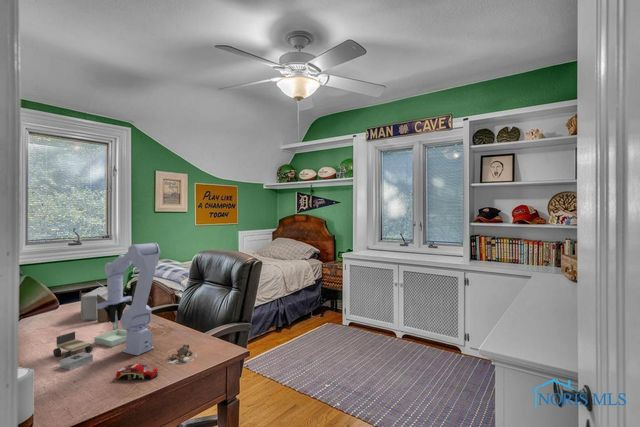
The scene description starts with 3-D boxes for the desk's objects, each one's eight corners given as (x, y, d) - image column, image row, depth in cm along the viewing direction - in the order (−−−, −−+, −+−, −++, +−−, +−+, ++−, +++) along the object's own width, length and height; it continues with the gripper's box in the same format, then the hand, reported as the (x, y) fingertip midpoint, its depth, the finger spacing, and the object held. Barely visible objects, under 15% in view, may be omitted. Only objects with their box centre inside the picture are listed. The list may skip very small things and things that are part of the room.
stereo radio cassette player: (98, 310, 195) (98, 274, 194) (114, 309, 196) (114, 274, 196) (80, 322, 174) (79, 282, 174) (98, 321, 175) (97, 281, 175)
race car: (161, 373, 121) (161, 362, 121) (154, 381, 115) (154, 369, 115) (122, 373, 120) (122, 362, 120) (113, 381, 115) (113, 369, 115)
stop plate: (92, 361, 129) (92, 354, 129) (69, 370, 122) (69, 363, 122) (82, 358, 132) (82, 351, 132) (59, 367, 125) (59, 360, 124)
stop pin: (118, 328, 150) (118, 309, 150) (114, 330, 148) (114, 310, 148) (116, 327, 151) (116, 309, 151) (111, 329, 149) (111, 310, 149)
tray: (135, 338, 152) (135, 332, 152) (111, 347, 142) (111, 341, 142) (118, 334, 157) (118, 328, 157) (94, 343, 147) (94, 337, 147)
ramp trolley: (92, 351, 138) (92, 334, 138) (69, 360, 130) (69, 342, 130) (77, 347, 142) (77, 330, 142) (53, 355, 134) (53, 337, 134)
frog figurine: (173, 351, 139) (173, 342, 139) (202, 352, 138) (202, 343, 138) (158, 364, 128) (158, 354, 128) (189, 365, 127) (189, 355, 127)
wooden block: (97, 321, 174) (96, 286, 174) (121, 317, 182) (120, 283, 181) (99, 323, 171) (98, 287, 171) (123, 318, 179) (122, 284, 179)
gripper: (124, 285, 158) (124, 315, 158) (92, 292, 144) (92, 324, 144) (135, 287, 155) (135, 317, 155) (103, 294, 141) (103, 327, 142)
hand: (115, 321), depth 149 cm, fingers closed on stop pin, 2 cm apart
